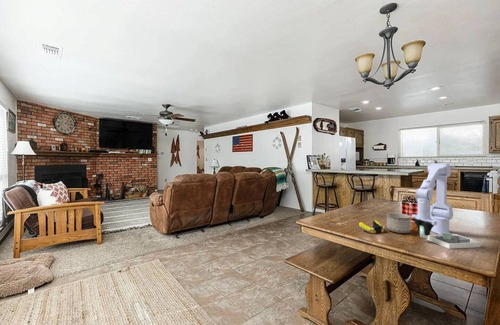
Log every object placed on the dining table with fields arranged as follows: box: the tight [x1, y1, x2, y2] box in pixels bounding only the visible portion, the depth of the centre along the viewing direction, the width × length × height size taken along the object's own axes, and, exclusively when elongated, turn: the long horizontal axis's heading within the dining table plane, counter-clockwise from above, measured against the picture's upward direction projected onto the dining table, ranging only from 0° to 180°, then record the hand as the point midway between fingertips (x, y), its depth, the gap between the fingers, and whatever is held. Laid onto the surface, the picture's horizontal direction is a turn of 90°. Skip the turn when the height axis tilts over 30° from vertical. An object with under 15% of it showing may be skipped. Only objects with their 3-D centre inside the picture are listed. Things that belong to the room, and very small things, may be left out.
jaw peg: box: [419, 225, 428, 239], centre depth 127 cm, size 4×4×6 cm
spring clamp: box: [358, 220, 385, 234], centre depth 146 cm, size 15×6×10 cm
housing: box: [426, 232, 482, 250], centre depth 124 cm, size 18×13×6 cm
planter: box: [386, 212, 411, 234], centre depth 145 cm, size 13×13×10 cm
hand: (423, 233), depth 127 cm, fingers closed on jaw peg, 4 cm apart
